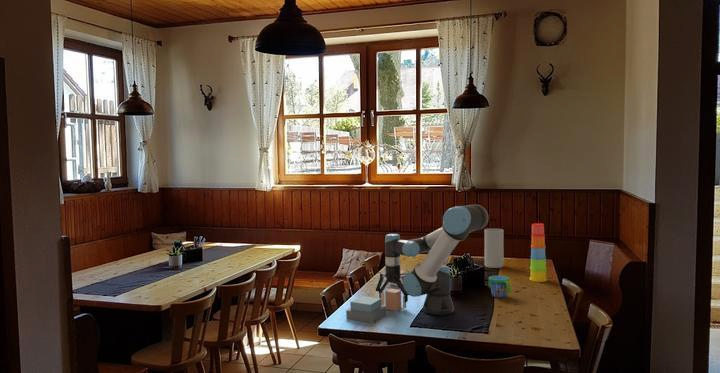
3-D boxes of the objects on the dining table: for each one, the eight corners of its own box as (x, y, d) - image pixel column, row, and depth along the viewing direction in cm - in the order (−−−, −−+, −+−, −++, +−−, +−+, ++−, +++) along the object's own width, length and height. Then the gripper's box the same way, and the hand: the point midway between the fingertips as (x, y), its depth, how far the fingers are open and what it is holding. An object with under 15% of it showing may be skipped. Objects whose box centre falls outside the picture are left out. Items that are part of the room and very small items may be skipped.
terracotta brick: (401, 307, 271) (401, 290, 271) (396, 310, 266) (396, 292, 266) (390, 305, 274) (390, 288, 274) (385, 309, 269) (385, 291, 268)
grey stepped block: (385, 314, 260) (385, 298, 260) (372, 322, 248) (371, 305, 247) (360, 310, 267) (360, 294, 266) (346, 318, 255) (346, 302, 254)
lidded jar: (385, 285, 315) (385, 270, 314) (391, 281, 325) (390, 266, 324) (402, 287, 311) (402, 271, 310) (408, 283, 321) (407, 267, 320)
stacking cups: (550, 280, 319) (551, 223, 317) (537, 282, 315) (537, 225, 313) (539, 277, 329) (539, 221, 326) (525, 279, 325) (525, 222, 322)
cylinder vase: (481, 265, 365) (481, 229, 364) (497, 263, 369) (497, 228, 367) (490, 269, 353) (490, 231, 352) (507, 267, 357) (507, 230, 355)
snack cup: (482, 293, 294) (482, 275, 294) (498, 291, 298) (498, 273, 297) (499, 300, 280) (499, 281, 279) (515, 298, 283) (516, 279, 283)
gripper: (417, 265, 266) (418, 307, 268) (375, 261, 278) (376, 301, 279) (411, 268, 260) (412, 311, 261) (368, 263, 271) (369, 305, 273)
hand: (393, 306), depth 270 cm, fingers open, 12 cm apart
